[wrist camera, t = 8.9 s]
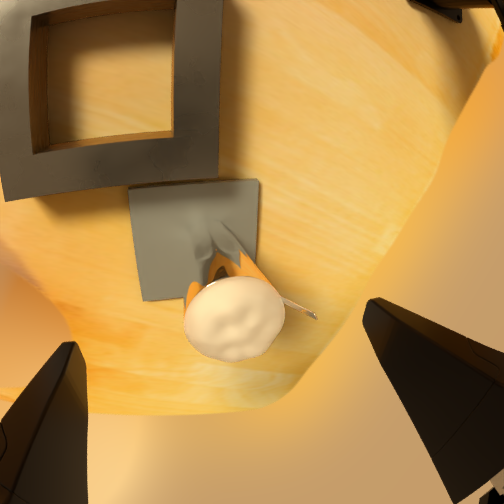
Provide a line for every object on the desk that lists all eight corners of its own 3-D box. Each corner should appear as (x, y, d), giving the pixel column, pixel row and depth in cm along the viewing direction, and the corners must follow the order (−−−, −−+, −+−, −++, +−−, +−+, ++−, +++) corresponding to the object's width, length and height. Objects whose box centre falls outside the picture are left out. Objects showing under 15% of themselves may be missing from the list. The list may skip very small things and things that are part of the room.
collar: (215, -23, 14) (225, -40, 11) (209, 165, 19) (218, 177, 17) (19, 2, 10) (0, -9, 8) (23, 185, 16) (5, 202, 14)
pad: (256, 178, 20) (258, 180, 20) (252, 285, 24) (253, 288, 24) (128, 187, 18) (127, 189, 18) (143, 297, 22) (143, 301, 22)
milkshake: (262, 247, 22) (328, 348, 14) (192, 283, 22) (221, 401, 14) (235, 190, 20) (301, 275, 11) (158, 230, 20) (167, 343, 11)
